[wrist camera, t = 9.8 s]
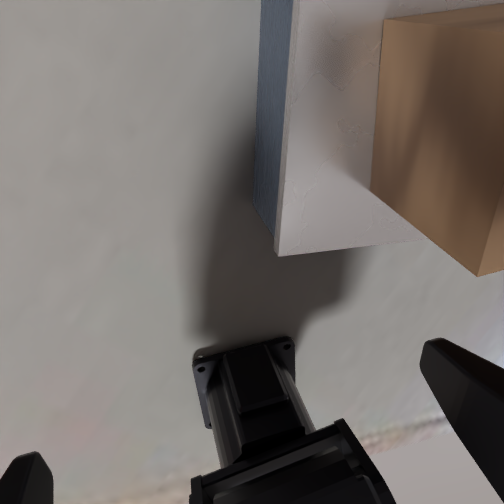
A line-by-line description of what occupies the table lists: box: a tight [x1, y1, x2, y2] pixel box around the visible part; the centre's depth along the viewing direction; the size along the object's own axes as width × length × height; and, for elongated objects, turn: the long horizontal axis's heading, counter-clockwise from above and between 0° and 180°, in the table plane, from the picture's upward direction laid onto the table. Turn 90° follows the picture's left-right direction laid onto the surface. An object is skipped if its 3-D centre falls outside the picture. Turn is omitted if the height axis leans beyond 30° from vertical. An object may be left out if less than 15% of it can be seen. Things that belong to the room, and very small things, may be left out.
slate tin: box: [253, 0, 504, 257], centre depth 17 cm, size 12×12×5 cm
